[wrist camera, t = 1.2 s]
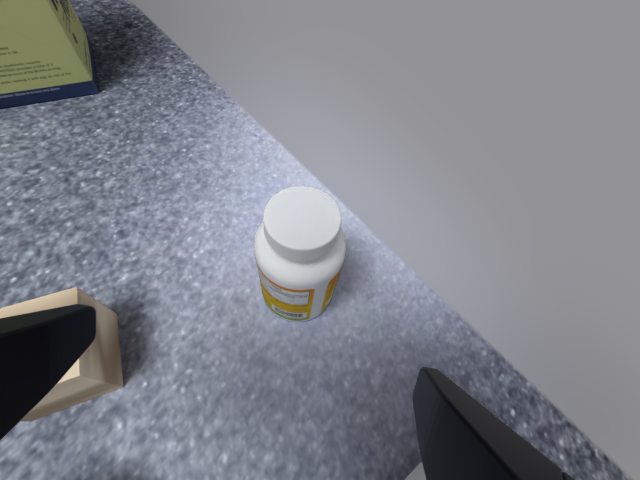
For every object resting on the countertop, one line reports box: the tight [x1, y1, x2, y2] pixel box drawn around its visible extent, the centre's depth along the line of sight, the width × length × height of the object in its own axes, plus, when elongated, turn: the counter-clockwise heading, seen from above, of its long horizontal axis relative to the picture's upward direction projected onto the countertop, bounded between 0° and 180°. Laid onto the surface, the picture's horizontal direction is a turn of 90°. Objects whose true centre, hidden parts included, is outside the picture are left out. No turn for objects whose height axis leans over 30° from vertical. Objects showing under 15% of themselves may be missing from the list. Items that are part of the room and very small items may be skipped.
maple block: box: [0, 287, 124, 421], centre depth 18 cm, size 5×5×5 cm
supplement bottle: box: [254, 186, 346, 322], centre depth 20 cm, size 5×5×10 cm
